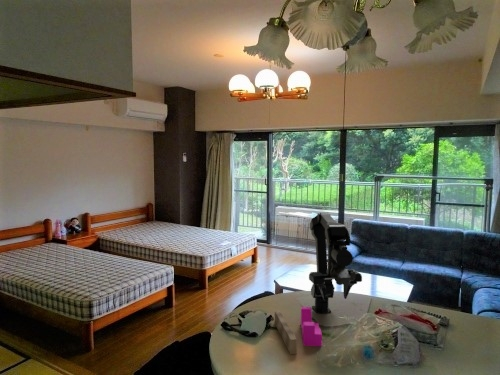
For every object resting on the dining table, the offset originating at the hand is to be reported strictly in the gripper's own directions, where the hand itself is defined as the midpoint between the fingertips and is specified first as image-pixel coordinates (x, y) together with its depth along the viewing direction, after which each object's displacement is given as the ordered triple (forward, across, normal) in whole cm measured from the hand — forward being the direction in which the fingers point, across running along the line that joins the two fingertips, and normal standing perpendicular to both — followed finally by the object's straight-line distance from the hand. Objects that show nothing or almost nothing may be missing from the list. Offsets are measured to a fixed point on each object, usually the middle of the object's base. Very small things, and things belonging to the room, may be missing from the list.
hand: (334, 299), depth 126 cm
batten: (+13, -19, 0) cm, 23 cm away
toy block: (+14, -9, 0) cm, 16 cm away
